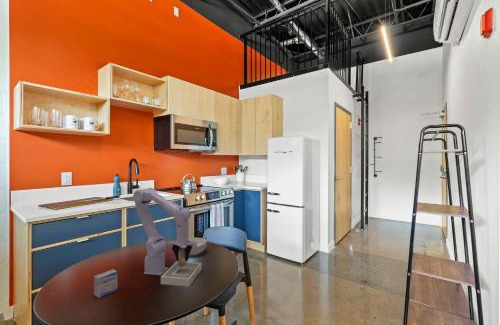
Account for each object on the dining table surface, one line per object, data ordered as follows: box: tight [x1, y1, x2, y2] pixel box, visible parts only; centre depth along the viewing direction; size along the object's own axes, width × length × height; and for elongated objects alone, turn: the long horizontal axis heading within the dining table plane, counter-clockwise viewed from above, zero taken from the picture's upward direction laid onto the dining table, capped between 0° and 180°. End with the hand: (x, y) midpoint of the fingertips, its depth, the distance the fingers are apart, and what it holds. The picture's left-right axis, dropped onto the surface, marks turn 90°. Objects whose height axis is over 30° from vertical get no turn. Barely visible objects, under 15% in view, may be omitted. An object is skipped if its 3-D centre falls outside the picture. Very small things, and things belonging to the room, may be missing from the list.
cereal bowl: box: [180, 237, 207, 257], centre depth 151 cm, size 17×17×7 cm
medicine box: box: [93, 269, 118, 299], centre depth 107 cm, size 8×4×9 cm, turn 148°
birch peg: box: [178, 248, 188, 267], centre depth 122 cm, size 4×4×8 cm
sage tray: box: [160, 260, 202, 288], centre depth 122 cm, size 14×17×4 cm
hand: (182, 260), depth 122 cm, fingers closed on birch peg, 4 cm apart
